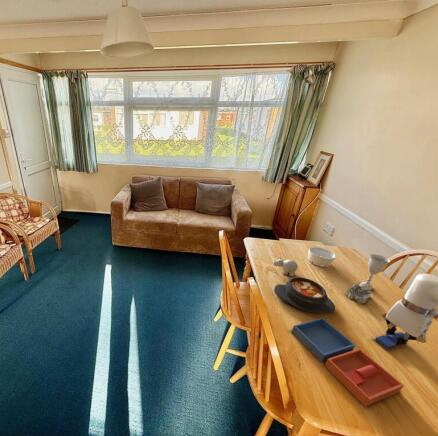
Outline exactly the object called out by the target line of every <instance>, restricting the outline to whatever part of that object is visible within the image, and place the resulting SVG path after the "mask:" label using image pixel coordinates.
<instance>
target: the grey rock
mask: <svg viewBox="0 0 438 436" xmlns="http://www.w3.org/2000/svg"><path fill="white" fill-rule="evenodd" d="M371 296H372V291H370V290H367V289H365V288H363V287H361V286H360V285H359V284H357V283H354V284H353V285H351V287H349V288H348V289H347V293H346V297H347V298H348V299H349V300H354V301H356V303H358V304H362V305H363V304H365V303H366V302H367V301H368V299H369V298H371Z"/></svg>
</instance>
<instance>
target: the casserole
mask: <svg viewBox="0 0 438 436" xmlns="http://www.w3.org/2000/svg"><path fill="white" fill-rule="evenodd" d="M273 290H274V293H275V295H276V297H277V298H278V299H280V300H282V301H284V302H286V303H288V304H290V305H292V306H293V307H295V308H297V309H299V310H301V311H304V312H309V313H315V314H316V313H329V314H330V313H334V312H335V311H336V306H335V304H334V302H333V301H332V300H331V298H330V297H329V296H328V294H327V291H326V289H325V288H324V287H323V286H322V285H321V284H320V283H318V282H316V281H315V280H312V279H310V278H307V277H301V276H294V277H291V278H290V279H288V280H287V281H286V282H285V284H279V283H278V284H276V285H275V286H274V288H273Z"/></svg>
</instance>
